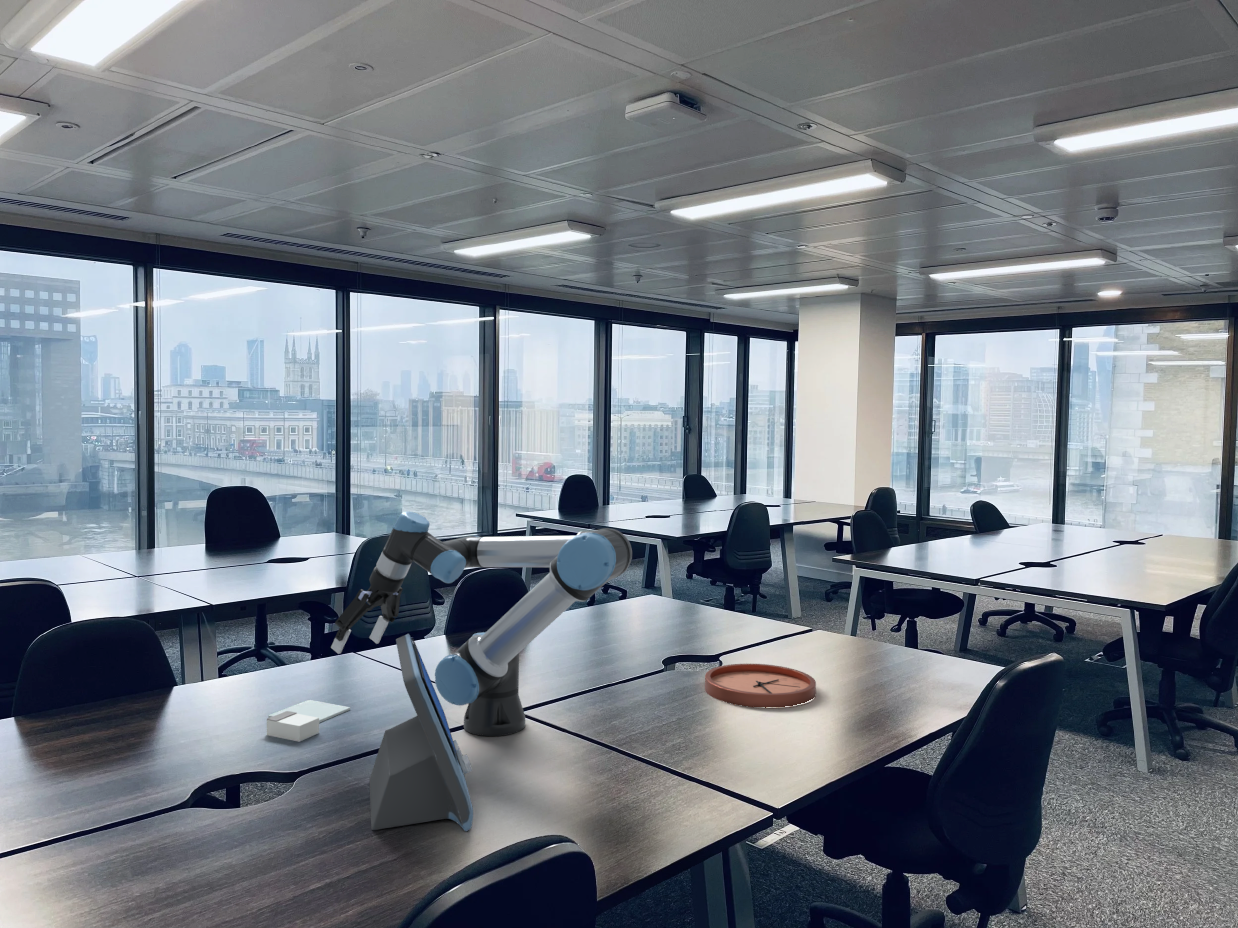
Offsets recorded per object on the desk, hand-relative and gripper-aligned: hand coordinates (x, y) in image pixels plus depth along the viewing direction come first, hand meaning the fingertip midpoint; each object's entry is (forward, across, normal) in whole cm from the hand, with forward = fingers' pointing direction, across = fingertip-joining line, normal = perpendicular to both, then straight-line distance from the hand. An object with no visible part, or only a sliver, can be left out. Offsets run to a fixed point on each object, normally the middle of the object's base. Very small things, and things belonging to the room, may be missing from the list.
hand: (355, 645), depth 211 cm
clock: (-22, -76, +80) cm, 113 cm away
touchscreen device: (+1, +25, +45) cm, 52 cm away
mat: (+25, -3, -6) cm, 26 cm away
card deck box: (+23, +10, +1) cm, 25 cm away
